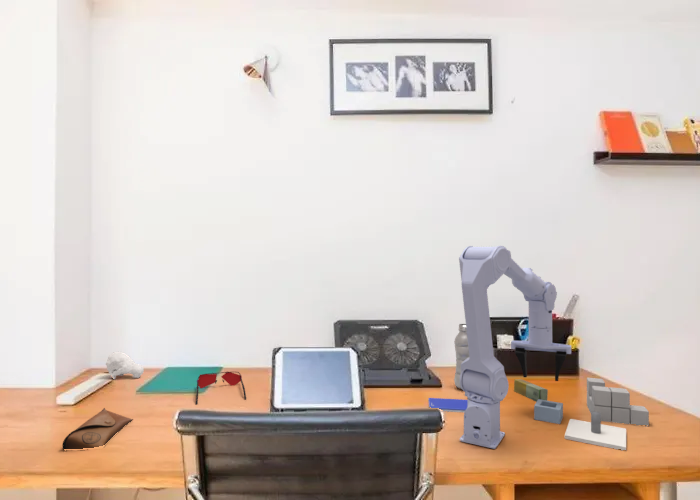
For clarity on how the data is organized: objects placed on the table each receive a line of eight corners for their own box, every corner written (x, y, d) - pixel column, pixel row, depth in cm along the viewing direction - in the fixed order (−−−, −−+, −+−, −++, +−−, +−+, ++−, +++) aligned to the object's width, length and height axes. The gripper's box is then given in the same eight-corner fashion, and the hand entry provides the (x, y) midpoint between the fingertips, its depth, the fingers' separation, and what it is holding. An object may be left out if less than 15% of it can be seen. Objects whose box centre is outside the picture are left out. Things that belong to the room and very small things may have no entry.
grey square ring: (559, 424, 111) (559, 410, 111) (534, 419, 114) (534, 405, 114) (562, 416, 116) (562, 403, 116) (538, 412, 119) (538, 399, 119)
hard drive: (429, 407, 121) (476, 409, 119) (428, 397, 129) (472, 399, 127) (429, 412, 121) (476, 415, 119) (428, 402, 129) (472, 404, 127)
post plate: (626, 451, 96) (626, 426, 96) (564, 438, 102) (564, 415, 102) (626, 432, 106) (626, 410, 106) (570, 421, 113) (570, 401, 113)
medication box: (548, 403, 127) (548, 389, 127) (540, 404, 126) (540, 390, 126) (520, 391, 139) (520, 378, 139) (513, 391, 138) (513, 378, 138)
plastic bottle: (478, 387, 141) (478, 324, 141) (471, 393, 135) (471, 327, 136) (458, 384, 145) (458, 322, 145) (451, 389, 139) (451, 325, 139)
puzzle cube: (649, 427, 110) (648, 394, 110) (593, 420, 114) (593, 389, 114) (636, 411, 121) (636, 381, 121) (586, 405, 125) (586, 377, 125)
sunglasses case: (103, 449, 96) (87, 423, 96) (73, 467, 95) (57, 441, 95) (135, 418, 114) (121, 396, 114) (110, 433, 113) (96, 411, 113)
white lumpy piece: (116, 349, 155) (149, 353, 154) (114, 373, 155) (147, 378, 154) (104, 353, 149) (139, 357, 148) (102, 378, 149) (136, 383, 148)
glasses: (241, 385, 145) (241, 369, 145) (246, 401, 129) (246, 383, 129) (196, 389, 140) (196, 373, 140) (195, 406, 125) (195, 388, 125)
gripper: (571, 326, 118) (571, 377, 118) (513, 322, 125) (513, 371, 125) (570, 330, 112) (571, 385, 112) (509, 326, 119) (510, 377, 119)
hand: (540, 378), depth 118 cm, fingers open, 7 cm apart
